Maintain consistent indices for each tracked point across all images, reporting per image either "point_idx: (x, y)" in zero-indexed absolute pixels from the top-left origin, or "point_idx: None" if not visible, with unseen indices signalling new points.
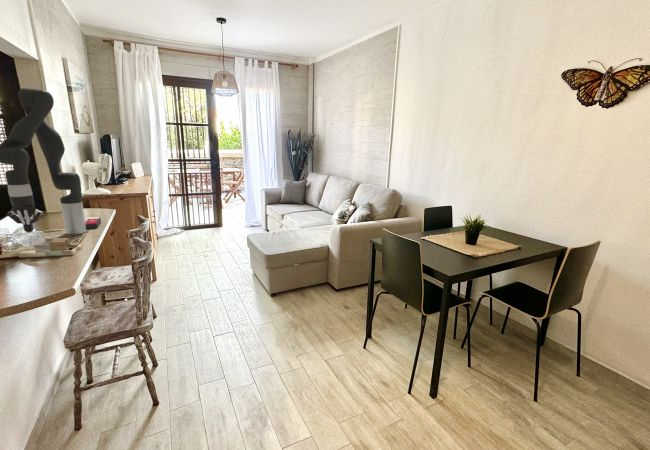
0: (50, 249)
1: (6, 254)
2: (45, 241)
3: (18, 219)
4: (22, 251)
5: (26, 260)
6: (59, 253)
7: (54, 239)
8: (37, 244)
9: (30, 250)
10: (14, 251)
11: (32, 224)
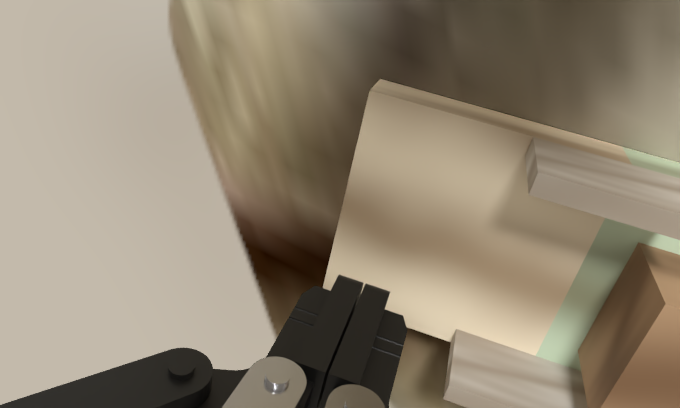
0: (581, 394)
1: (206, 127)
2: (528, 181)
3: (124, 402)
4: (337, 255)
5: (399, 366)
6: None
7: (652, 339)
8: (472, 395)
9: (397, 258)
10: (235, 49)
11: (388, 400)
